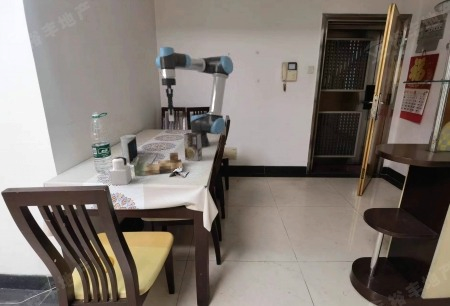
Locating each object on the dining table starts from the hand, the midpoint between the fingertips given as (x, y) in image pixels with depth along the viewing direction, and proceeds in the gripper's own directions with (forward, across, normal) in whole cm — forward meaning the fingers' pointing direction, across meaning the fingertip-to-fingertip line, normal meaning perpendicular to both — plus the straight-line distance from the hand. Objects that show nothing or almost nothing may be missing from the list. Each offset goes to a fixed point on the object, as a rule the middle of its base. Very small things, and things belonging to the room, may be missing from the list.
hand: (171, 120), depth 136 cm
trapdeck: (+25, +12, -8) cm, 29 cm away
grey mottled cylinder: (+25, -22, -28) cm, 44 cm away
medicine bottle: (+25, +26, -25) cm, 44 cm away
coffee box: (+25, -2, +12) cm, 28 cm away
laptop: (+25, -8, -18) cm, 32 cm away
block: (+22, +8, 0) cm, 24 cm away
